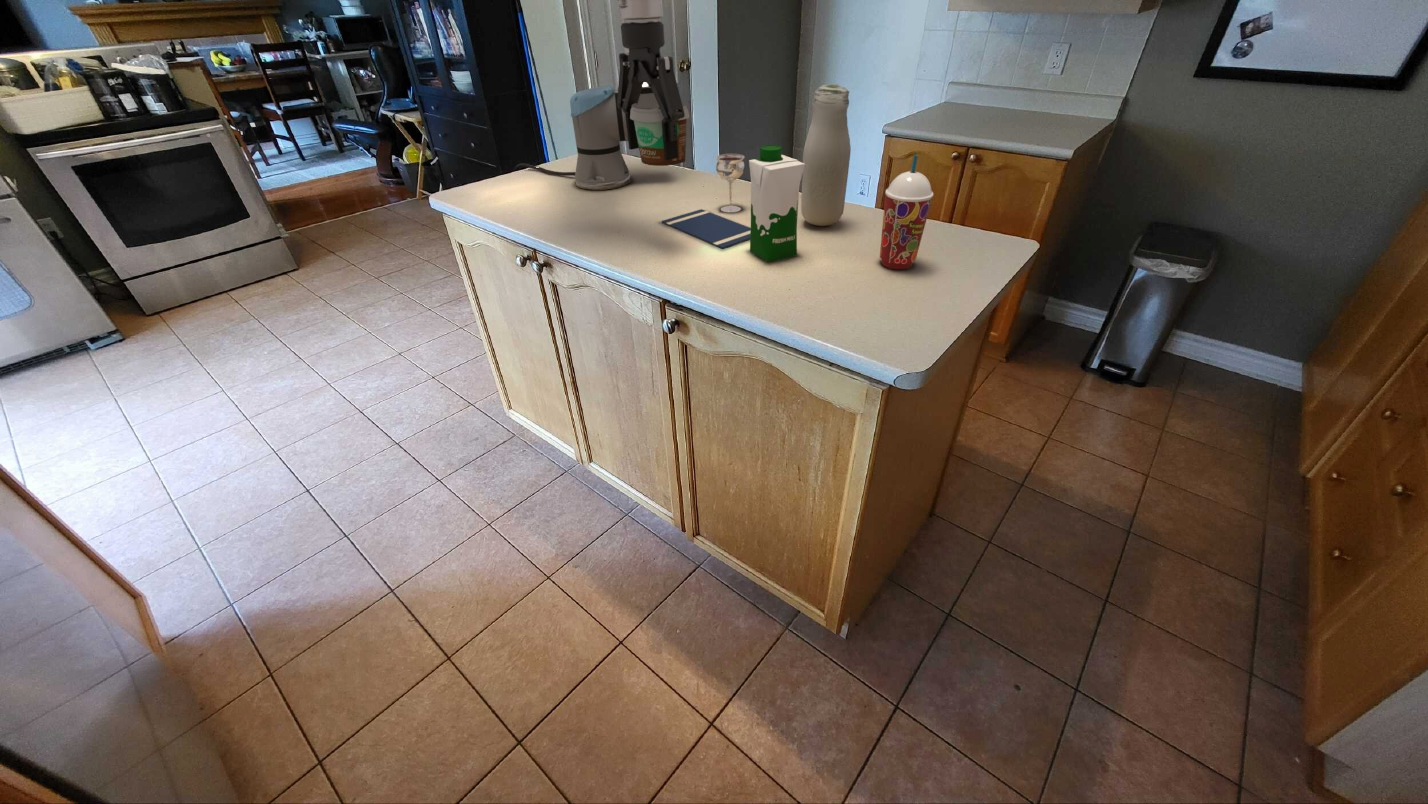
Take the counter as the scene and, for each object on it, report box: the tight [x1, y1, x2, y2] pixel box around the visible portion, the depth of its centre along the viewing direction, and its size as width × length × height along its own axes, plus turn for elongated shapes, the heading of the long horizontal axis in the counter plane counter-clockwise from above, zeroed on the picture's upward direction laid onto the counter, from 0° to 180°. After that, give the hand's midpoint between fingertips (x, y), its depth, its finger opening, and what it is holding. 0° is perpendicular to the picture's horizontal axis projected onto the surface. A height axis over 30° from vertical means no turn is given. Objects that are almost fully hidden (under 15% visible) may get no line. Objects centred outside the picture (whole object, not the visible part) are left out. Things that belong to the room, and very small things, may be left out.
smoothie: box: [879, 154, 934, 270], centre depth 105 cm, size 8×8×20 cm
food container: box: [630, 103, 691, 167], centre depth 109 cm, size 12×6×10 cm, turn 63°
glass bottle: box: [800, 84, 852, 227], centre depth 121 cm, size 10×10×28 cm
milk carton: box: [748, 144, 805, 264], centre depth 111 cm, size 9×9×20 cm
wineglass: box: [715, 153, 746, 213], centre depth 136 cm, size 7×7×12 cm
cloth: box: [661, 208, 751, 250], centre depth 129 cm, size 22×12×1 cm, turn 40°
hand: (652, 153), depth 112 cm, fingers closed on food container, 12 cm apart
